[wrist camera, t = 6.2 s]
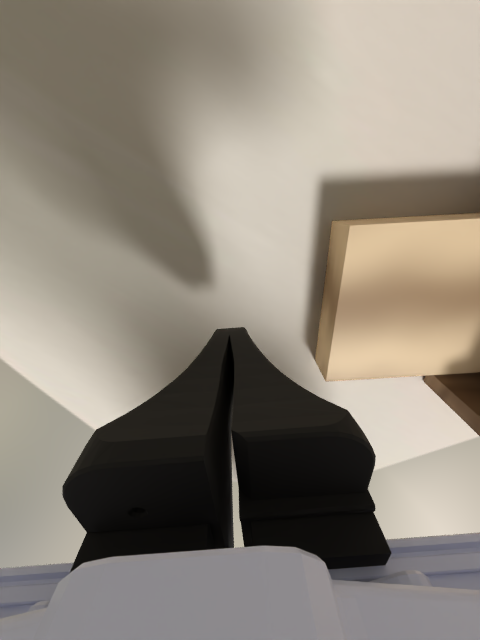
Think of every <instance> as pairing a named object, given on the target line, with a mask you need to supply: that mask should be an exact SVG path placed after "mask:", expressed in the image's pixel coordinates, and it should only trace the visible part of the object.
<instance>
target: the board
mask: <svg viewBox="0 0 480 640" xmlns="http://www.w3.org/2000/svg"><path fill="white" fill-rule="evenodd" d="M315 361H316V363H317V365H318V367H319V369H320V371H321V373H322V375H323V377H324V379H325V381H326V382H327V381H344V380H360V379H377V378H393V377H410V376H426V375H443V374H460V373H476V372H480V213H466V214H448V215H430V216H411V217H393V218H375V219H357V220H339V221H332V226H331V234H330V242H329V250H328V258H327V266H326V275H325V283H324V291H323V299H322V307H321V316H320V324H319V332H318V340H317V348H316V356H315Z"/></svg>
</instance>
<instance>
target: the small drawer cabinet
mask: <svg viewBox="0 0 480 640" xmlns="http://www.w3.org/2000/svg"><path fill="white" fill-rule="evenodd" d="M424 382H425V383H426V384H427V385H428V386H429V387H430V388H431V389H432V390H433V391H434V392H435V393H436V394H437V395H438V396H439V397H440V398H441V399H442V400H443V401H444V402H445V403H446V404H447V405H448V406H449V407H450V408H451V409H452V410H453V411H454V412H456V413H457V414H458V415H459V416H460V417H461V418H462V419H463V420H464V421H465V422H466V423H467V424H468V425H469V426H470V427H471V428H472V429H473V430H474V431H475V432H476V433H477V434H478V435H479V436H480V372H476V373H460V374H443V375H426V376H425V378H424Z"/></svg>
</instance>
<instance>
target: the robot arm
mask: <svg viewBox="0 0 480 640" xmlns="http://www.w3.org/2000/svg"><path fill="white" fill-rule="evenodd" d="M232 413H233V415H232ZM231 426H232V427H231ZM231 432H232V440H233V448H234V455H235V463H236V470H237V478H238V485H239V516H240V521H241V526H242V533H243V540H244V547H240V548H234V541H233V540H234V538H233V506H232V505H233V504H232V462H231ZM375 457H376V456H375V454H374V451H373V448H372V446H371V445H370V443H369V441H368V439H367V437H366V436H365V434H364V433H363V431H362V430H361V428H360V427H359V425H358V424H357V423H356V421H355V420H354V418H353V417H352V416H351V414H350V413H349V412H348V410H346V409H343V408H341V407H339V406H337V405H335V404H333V403H331V402H328V401H326V400H324V399H322V398H320V397H318V396H316V395H315V394H313V393H311V392H309V391H307V390H306V389H304V388H302V387H301V386H299V385H298V384H296V383H295V382H293V381H292V380H291V379H289V378H288V377H286V376H285V375H284V374H283V373H281V372H280V371H279V370H278V369H277V368H276V367H275V366H274V365H273V364H272V363H271V362H270V361H269V360H268V359H267V358H266V357H265V356H264V355H263V354H262V353H261V352H260V350H259V349H258V348H257V346H256V345H255V344H254V342H253V341H252V339H251V338H250V336H249V335H248V333H247V330H246V329H245V328H244V327H241V328H228V329H217V330H216V331H215V332H214V334H213V336H212V337H211V339H210V340H209V342H208V343H207V345H206V346H205V347H204V349H203V350H202V351H201V353H200V354H199V355H198V356H197V357H196V359H195V360H194V361H193V362H192V363H191V364H190V366H189V367H188V368H187V369H186V370H185V371H184V372H183V373H182V374H181V375H180V376H178V377H177V378H176V379H175V380H174V381H173V382H171V383H170V384H169V385H168V386H166V387H165V388H164V389H162V390H161V391H160V392H159V393H157V394H156V395H155V396H153V397H152V398H150V399H149V400H147V401H146V402H144V403H143V404H141V405H140V406H138V407H136V408H135V409H133V410H131V411H130V412H128V413H126V414H125V415H123V416H121V417H119V418H117V419H115V420H114V421H112V422H110V423H108V424H106V425H104V426H102V427H101V428H99V429H97V430H96V431H95V432H94V434H93V435H92V437H91V438H90V440H89V441H88V443H87V444H86V446H85V448H84V450H83V451H82V453H81V455H80V457H79V458H78V460H77V462H76V464H75V466H74V467H73V469H72V471H71V473H70V474H69V476H68V478H67V479H66V481H65V483H64V485H63V498H64V500H65V502H66V504H67V506H68V508H69V509H70V510H71V512H72V513H73V514H74V515H75V517H76V518H77V519H78V521H79V522H80V524H81V525H82V526H83V528H84V529H85V530H86V532H87V534H86V536H85V538H84V541H83V543H82V546H81V547H80V550H79V552H78V554H77V557H76V559H75V562H74V563H62V564H48V565H35V566H22V567H8V568H0V640H480V533H468V534H455V535H442V536H428V537H414V538H401V539H387V540H386V539H385V537H384V535H383V533H382V530H381V528H380V526H379V524H378V521H377V519H376V517H375V515H374V513H373V512H374V511H375V504H374V502H373V500H372V497H371V495H370V493H369V491H368V485H369V482H370V479H371V476H372V473H373V469H374V466H375Z"/></svg>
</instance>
